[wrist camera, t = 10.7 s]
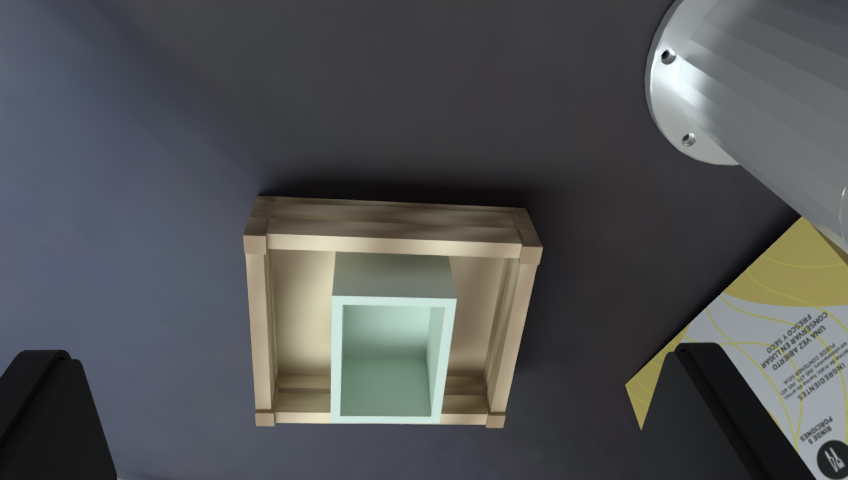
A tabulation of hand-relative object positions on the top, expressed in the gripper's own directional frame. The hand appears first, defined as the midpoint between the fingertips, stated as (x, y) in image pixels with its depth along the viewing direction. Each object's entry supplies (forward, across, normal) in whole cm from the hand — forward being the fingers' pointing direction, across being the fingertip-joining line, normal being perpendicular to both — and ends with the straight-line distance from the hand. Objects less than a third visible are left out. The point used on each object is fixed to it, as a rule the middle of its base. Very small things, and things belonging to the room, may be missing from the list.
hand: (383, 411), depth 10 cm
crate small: (+27, -1, +18) cm, 32 cm away
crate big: (+28, -1, +18) cm, 33 cm away
